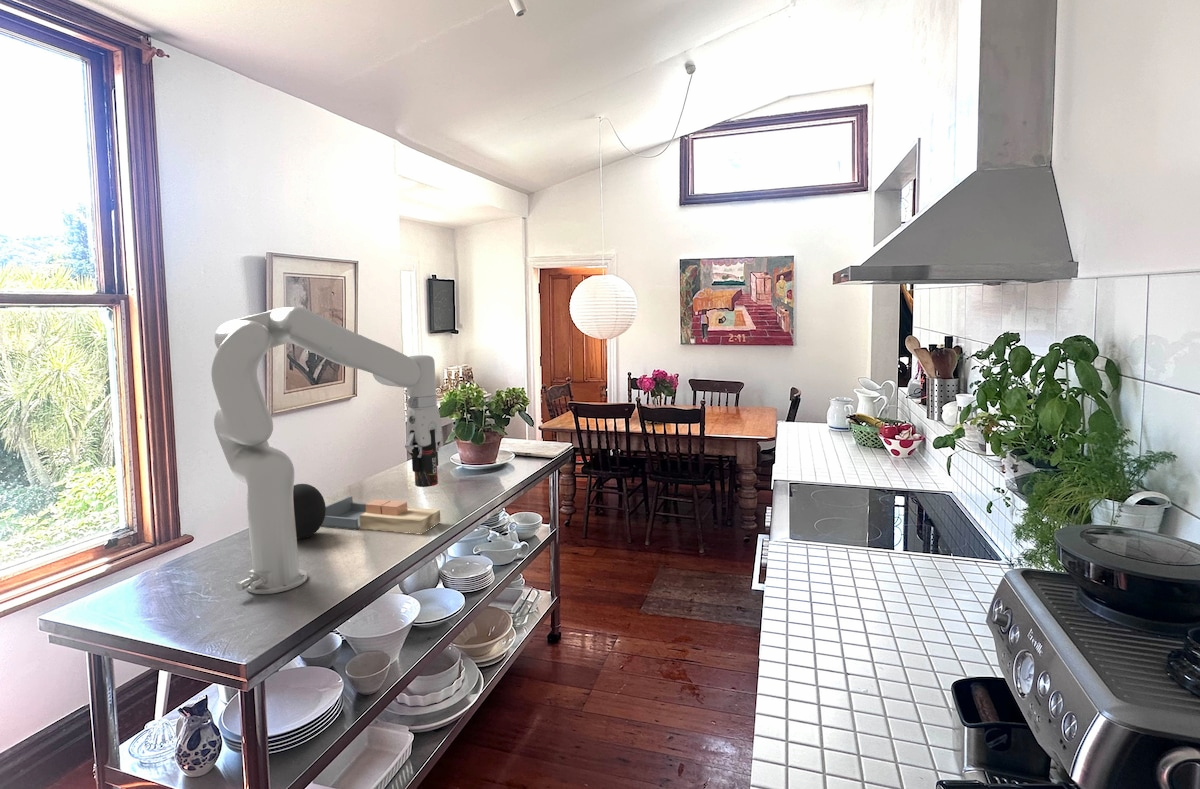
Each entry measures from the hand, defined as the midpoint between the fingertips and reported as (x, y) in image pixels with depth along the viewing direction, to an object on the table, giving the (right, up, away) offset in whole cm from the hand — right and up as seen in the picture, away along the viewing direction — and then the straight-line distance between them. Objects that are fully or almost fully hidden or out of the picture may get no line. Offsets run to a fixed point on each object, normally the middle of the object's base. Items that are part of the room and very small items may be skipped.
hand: (425, 468), depth 177 cm
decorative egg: (-35, -20, +5) cm, 41 cm away
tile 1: (-17, -14, +15) cm, 27 cm away
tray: (-26, -18, +19) cm, 37 cm away
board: (-11, -18, +13) cm, 25 cm away
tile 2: (-12, -14, +13) cm, 23 cm away
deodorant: (0, -5, +1) cm, 5 cm away
